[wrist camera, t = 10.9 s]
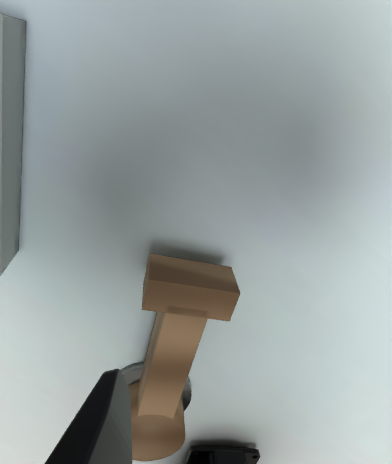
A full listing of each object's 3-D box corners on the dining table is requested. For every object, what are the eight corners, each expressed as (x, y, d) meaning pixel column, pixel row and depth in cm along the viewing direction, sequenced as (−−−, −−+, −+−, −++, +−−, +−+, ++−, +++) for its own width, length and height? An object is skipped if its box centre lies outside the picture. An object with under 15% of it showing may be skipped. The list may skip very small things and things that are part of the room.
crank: (174, 425, 28) (176, 462, 25) (111, 421, 27) (107, 459, 24) (230, 266, 21) (240, 294, 18) (150, 252, 20) (148, 280, 17)
